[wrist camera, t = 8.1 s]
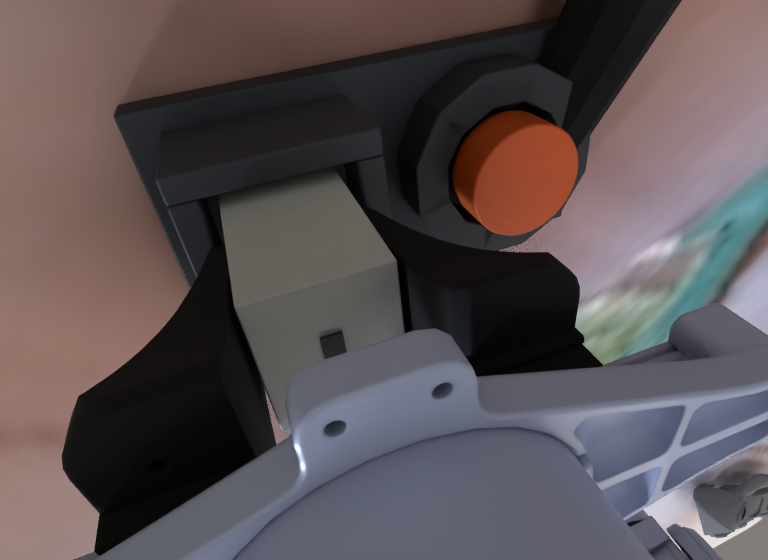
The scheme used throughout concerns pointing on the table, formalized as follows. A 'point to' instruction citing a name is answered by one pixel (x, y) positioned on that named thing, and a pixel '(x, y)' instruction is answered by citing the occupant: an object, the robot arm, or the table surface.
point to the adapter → (386, 119)
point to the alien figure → (731, 505)
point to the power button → (515, 171)
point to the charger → (306, 276)
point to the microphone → (600, 54)
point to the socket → (265, 162)
